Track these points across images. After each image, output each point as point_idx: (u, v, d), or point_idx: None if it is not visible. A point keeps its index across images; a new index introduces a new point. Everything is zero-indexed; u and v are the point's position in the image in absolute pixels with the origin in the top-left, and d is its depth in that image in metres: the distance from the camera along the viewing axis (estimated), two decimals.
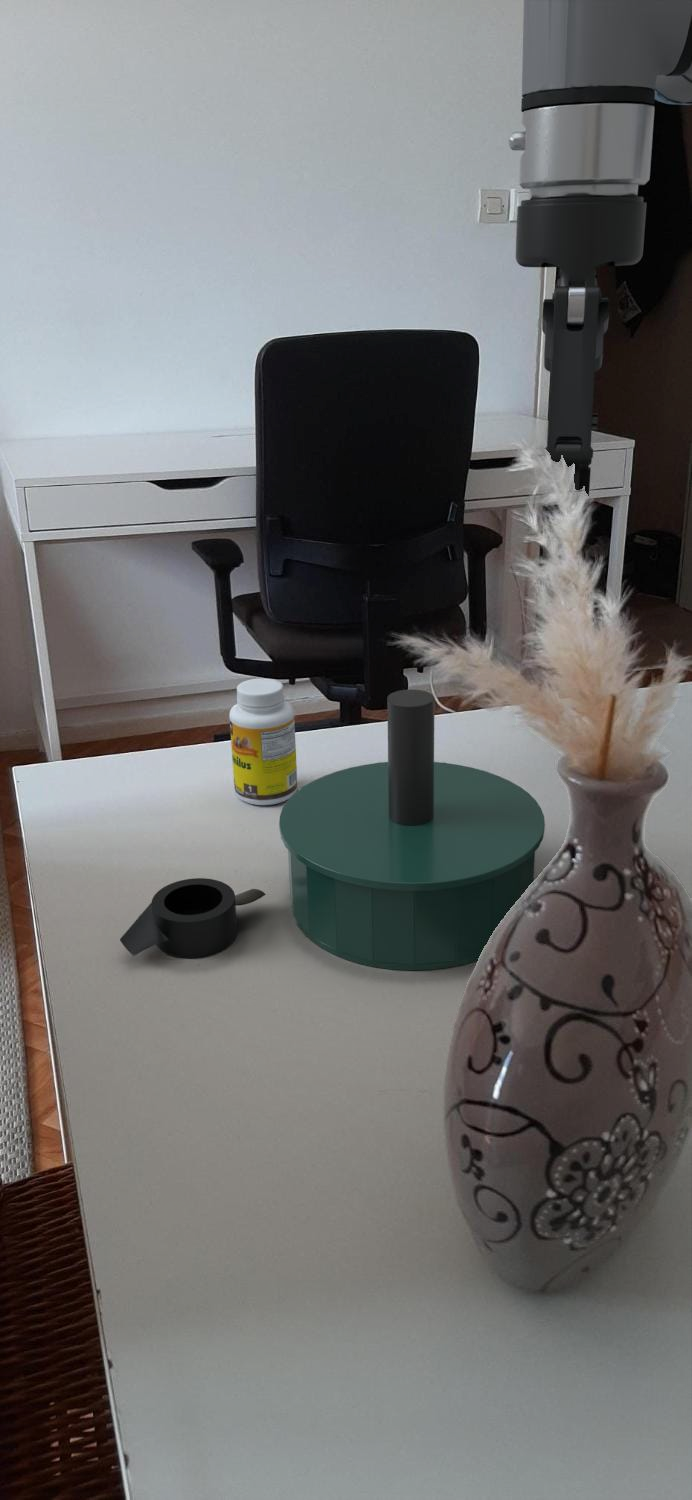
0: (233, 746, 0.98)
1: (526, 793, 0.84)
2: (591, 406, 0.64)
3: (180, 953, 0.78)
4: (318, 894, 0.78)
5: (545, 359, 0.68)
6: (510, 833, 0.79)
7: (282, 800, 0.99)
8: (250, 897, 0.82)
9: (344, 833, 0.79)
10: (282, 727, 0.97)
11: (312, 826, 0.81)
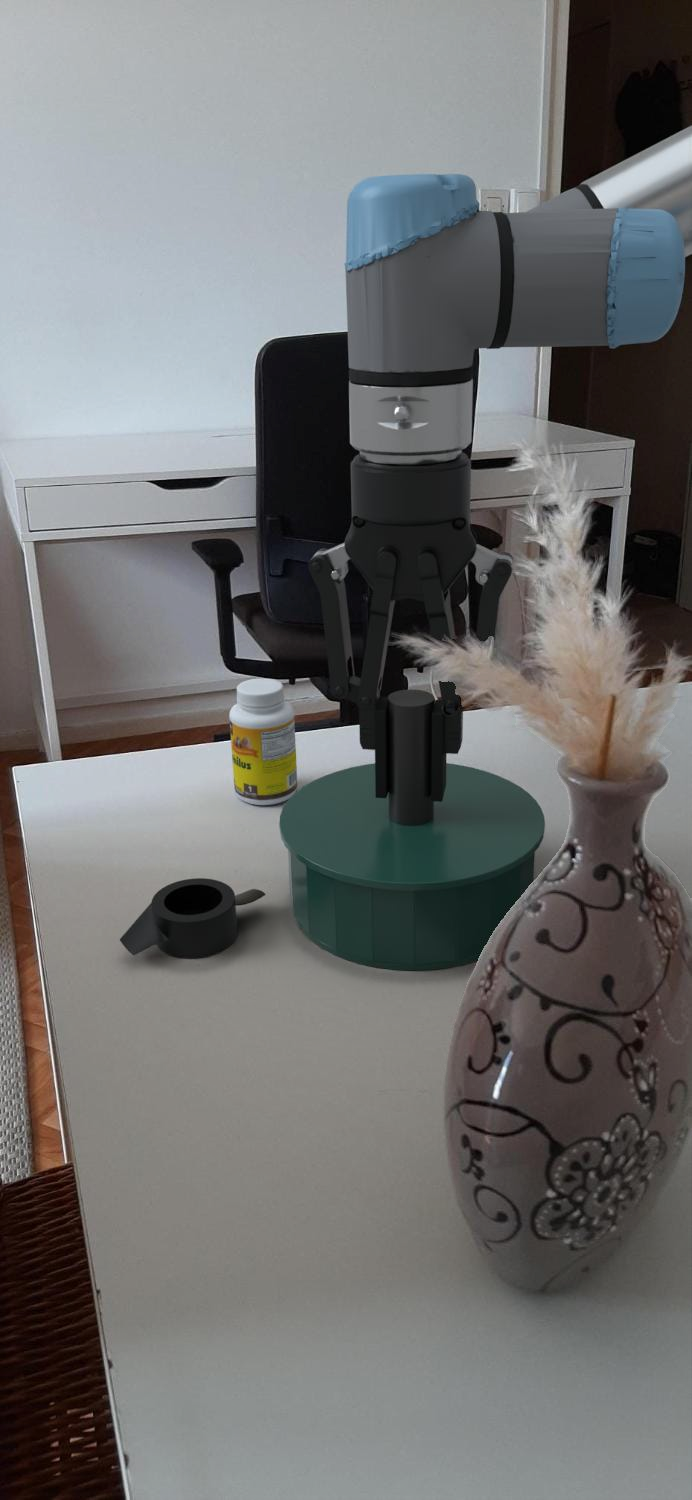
0: (233, 746, 0.98)
1: (526, 793, 0.84)
2: None
3: (180, 953, 0.78)
4: (318, 894, 0.78)
5: (440, 613, 0.74)
6: (510, 833, 0.79)
7: (282, 800, 0.99)
8: (250, 897, 0.82)
9: (344, 833, 0.79)
10: (282, 727, 0.97)
11: (312, 826, 0.81)
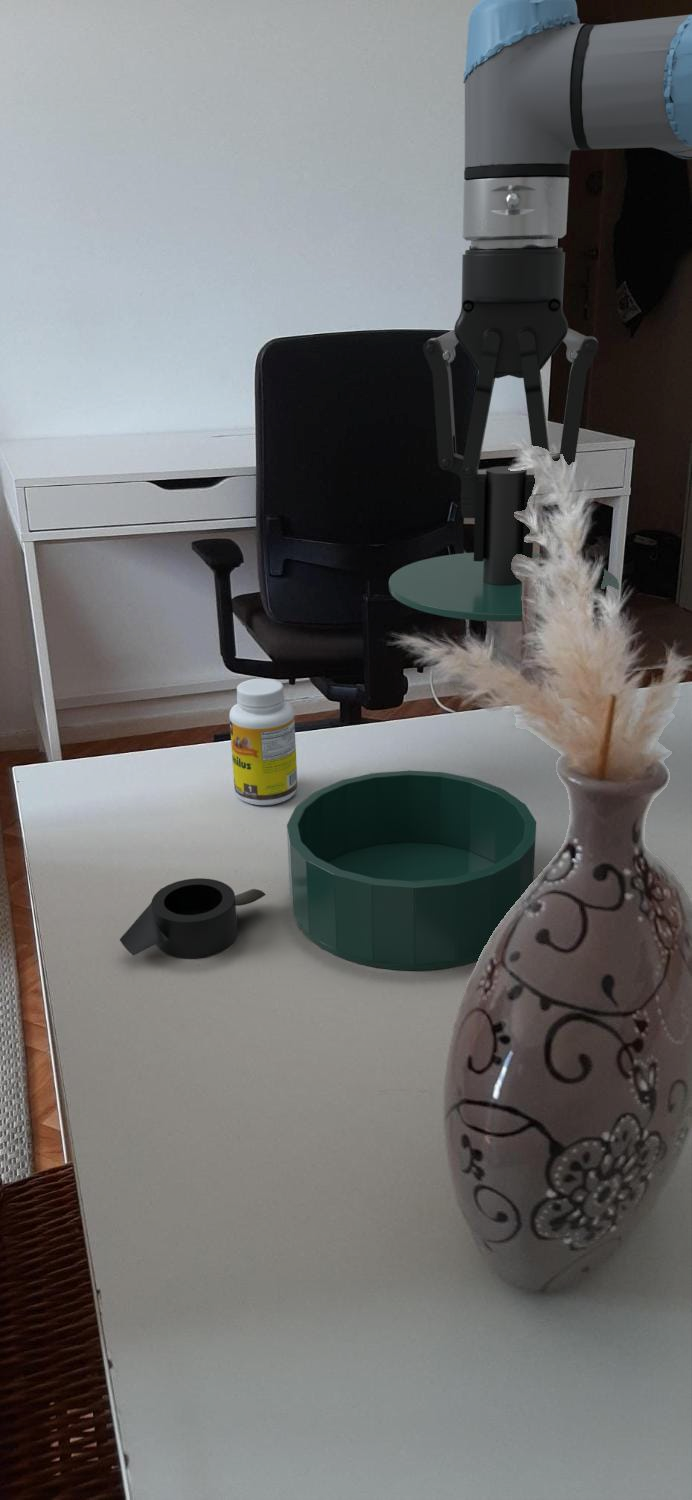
0: (233, 746, 0.98)
1: None
2: None
3: (180, 953, 0.78)
4: (318, 894, 0.78)
5: (536, 386, 0.87)
6: None
7: (282, 800, 0.99)
8: (250, 897, 0.82)
9: (447, 589, 0.93)
10: (282, 727, 0.97)
11: (419, 586, 0.94)
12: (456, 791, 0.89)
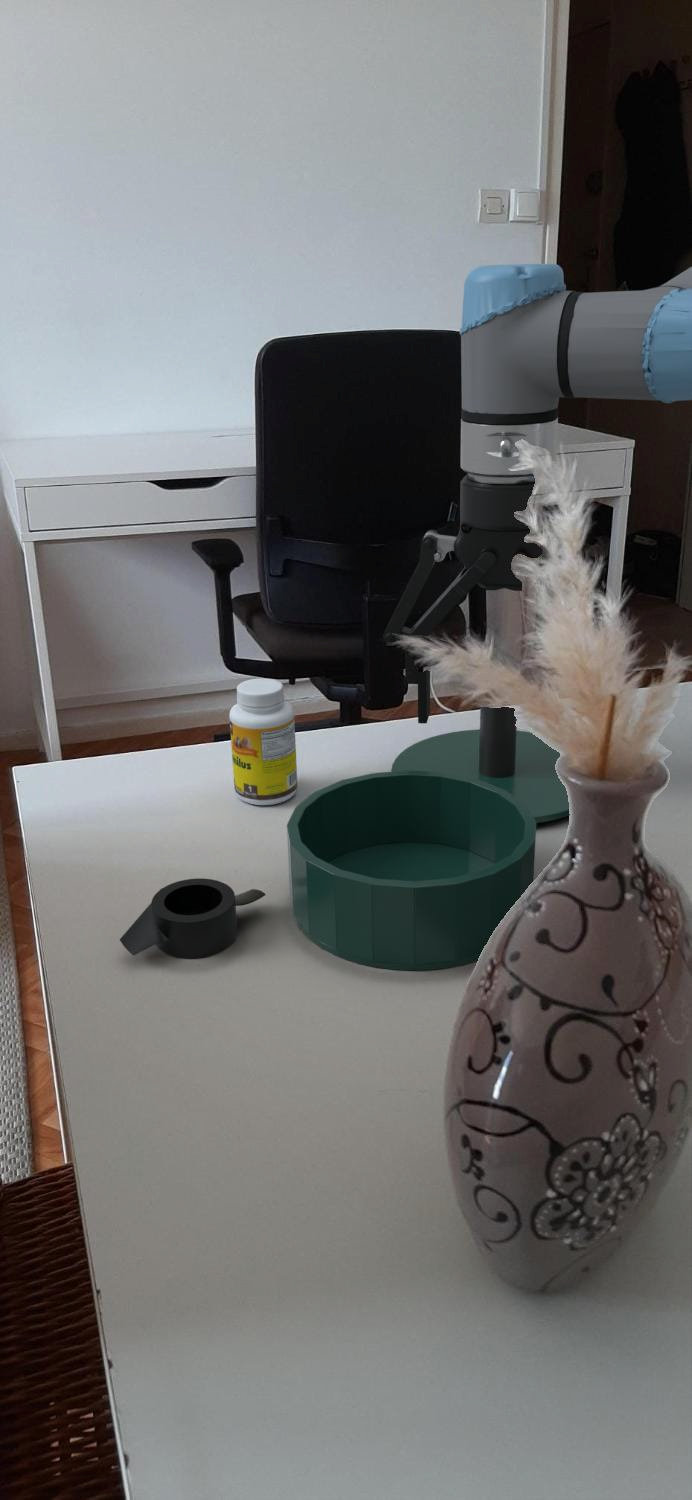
0: (233, 746, 0.98)
1: None
2: None
3: (180, 953, 0.78)
4: (318, 894, 0.78)
5: None
6: None
7: (282, 800, 0.99)
8: (250, 897, 0.82)
9: None
10: (282, 727, 0.97)
11: None
12: (456, 791, 0.89)
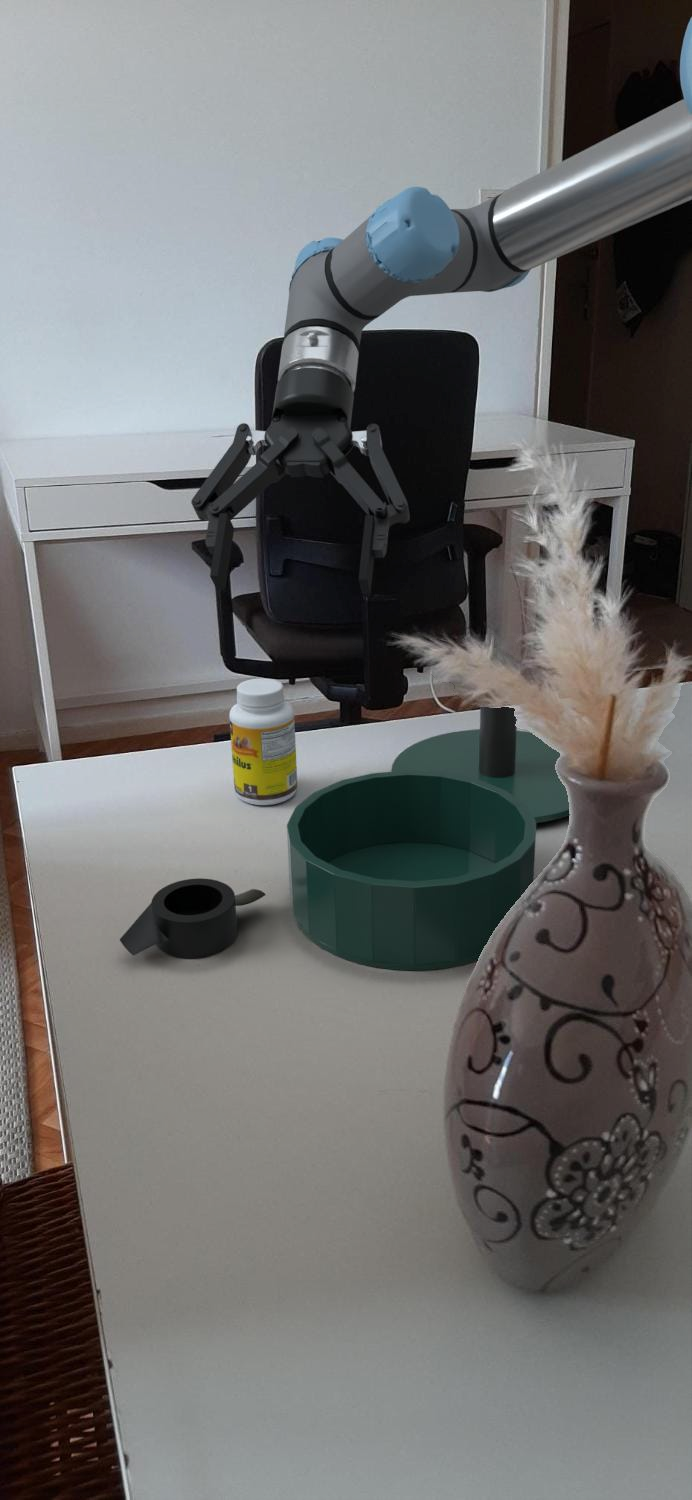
0: (233, 746, 0.98)
1: None
2: None
3: (180, 953, 0.78)
4: (318, 894, 0.78)
5: (342, 458, 1.06)
6: None
7: (282, 800, 0.99)
8: (250, 897, 0.82)
9: None
10: (282, 727, 0.97)
11: None
12: (456, 791, 0.89)
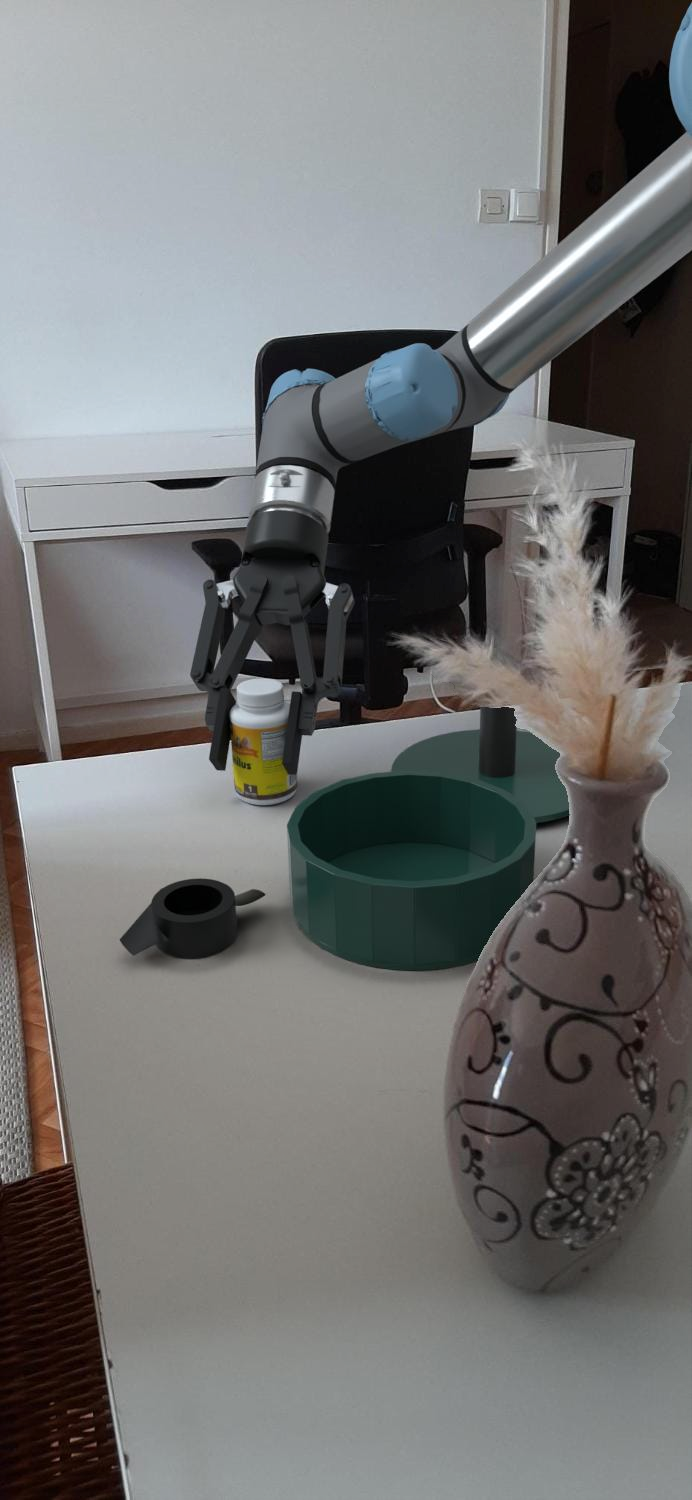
0: (233, 746, 0.98)
1: None
2: (342, 664, 1.00)
3: (180, 953, 0.78)
4: (318, 894, 0.78)
5: (299, 616, 0.99)
6: None
7: (282, 800, 0.99)
8: (250, 897, 0.82)
9: None
10: (282, 726, 0.97)
11: None
12: (456, 791, 0.89)
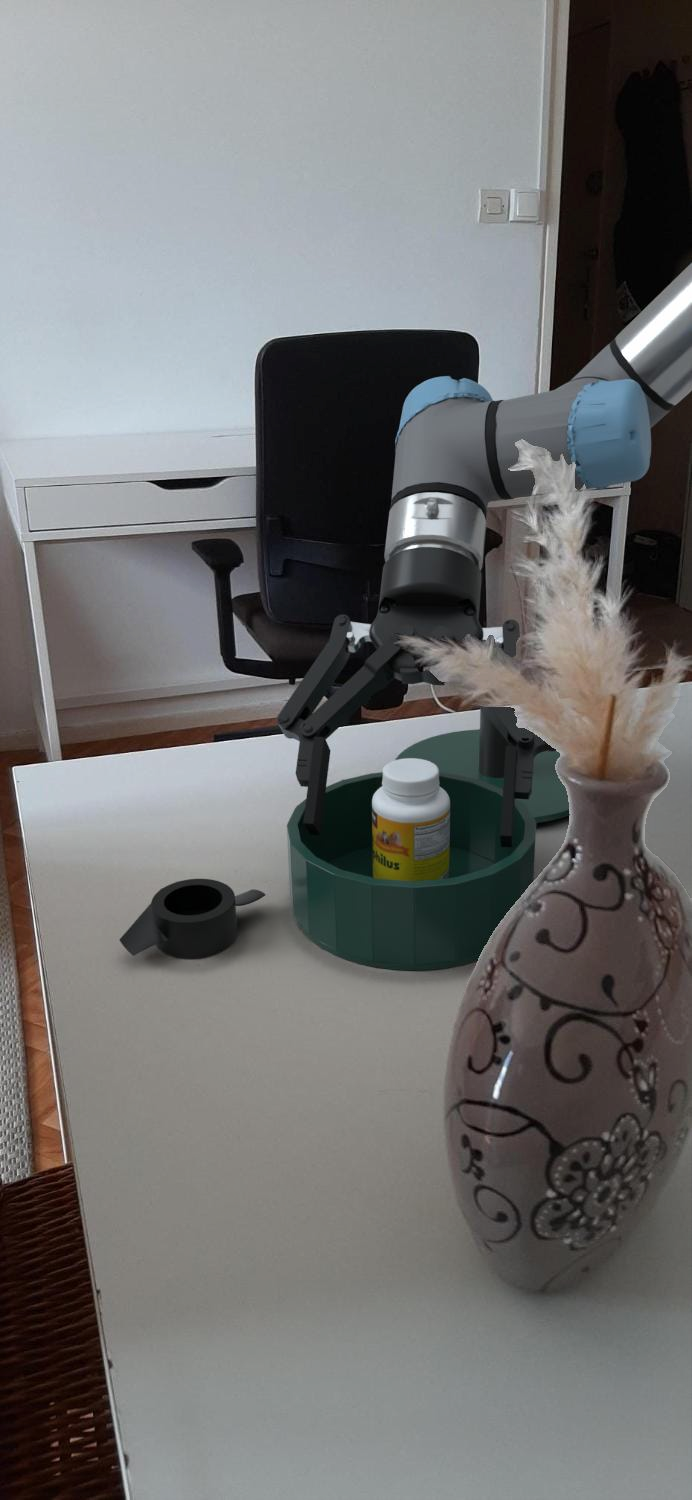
0: (376, 841, 0.81)
1: None
2: None
3: (180, 953, 0.78)
4: (318, 894, 0.78)
5: None
6: None
7: None
8: (250, 897, 0.82)
9: None
10: (439, 819, 0.80)
11: None
12: (456, 791, 0.89)
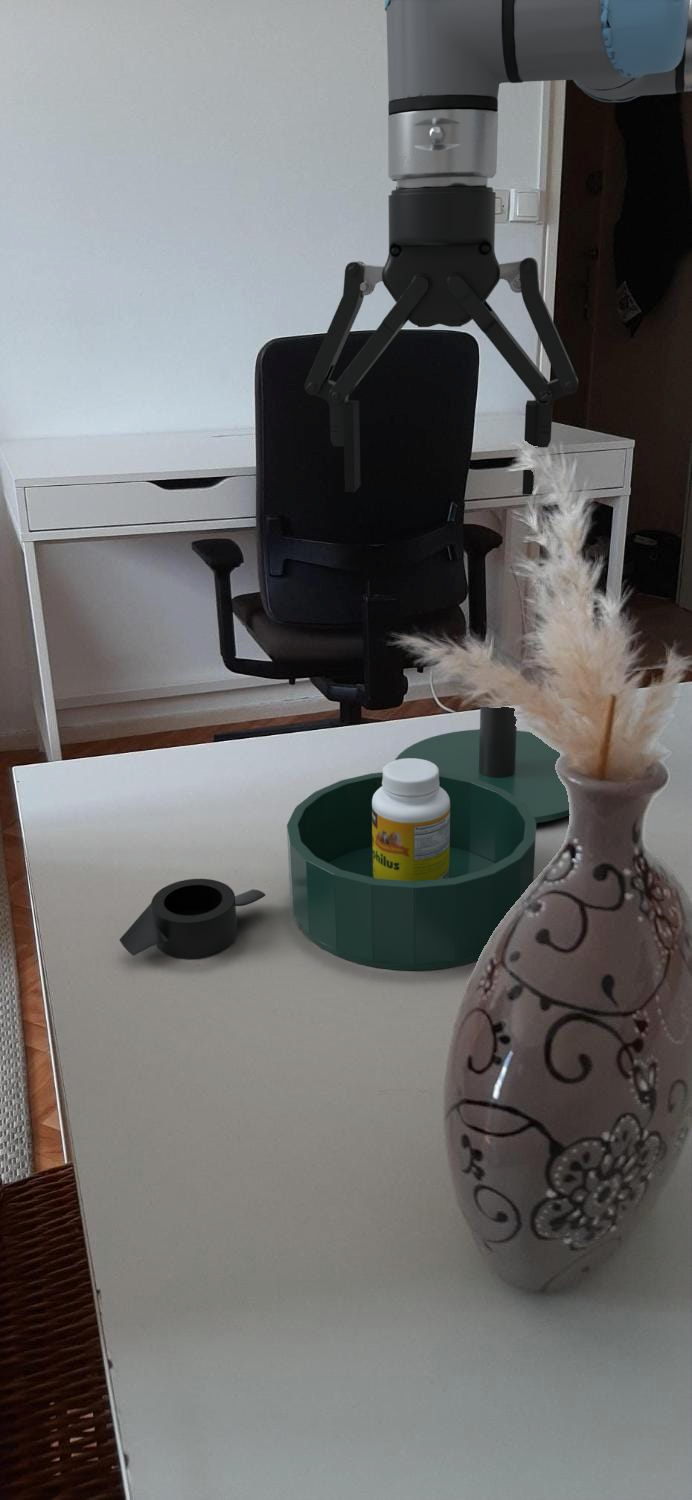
0: (376, 841, 0.81)
1: None
2: None
3: (180, 954, 0.78)
4: (318, 894, 0.78)
5: (491, 321, 0.82)
6: None
7: None
8: (250, 897, 0.82)
9: None
10: (439, 819, 0.80)
11: None
12: (456, 791, 0.89)
